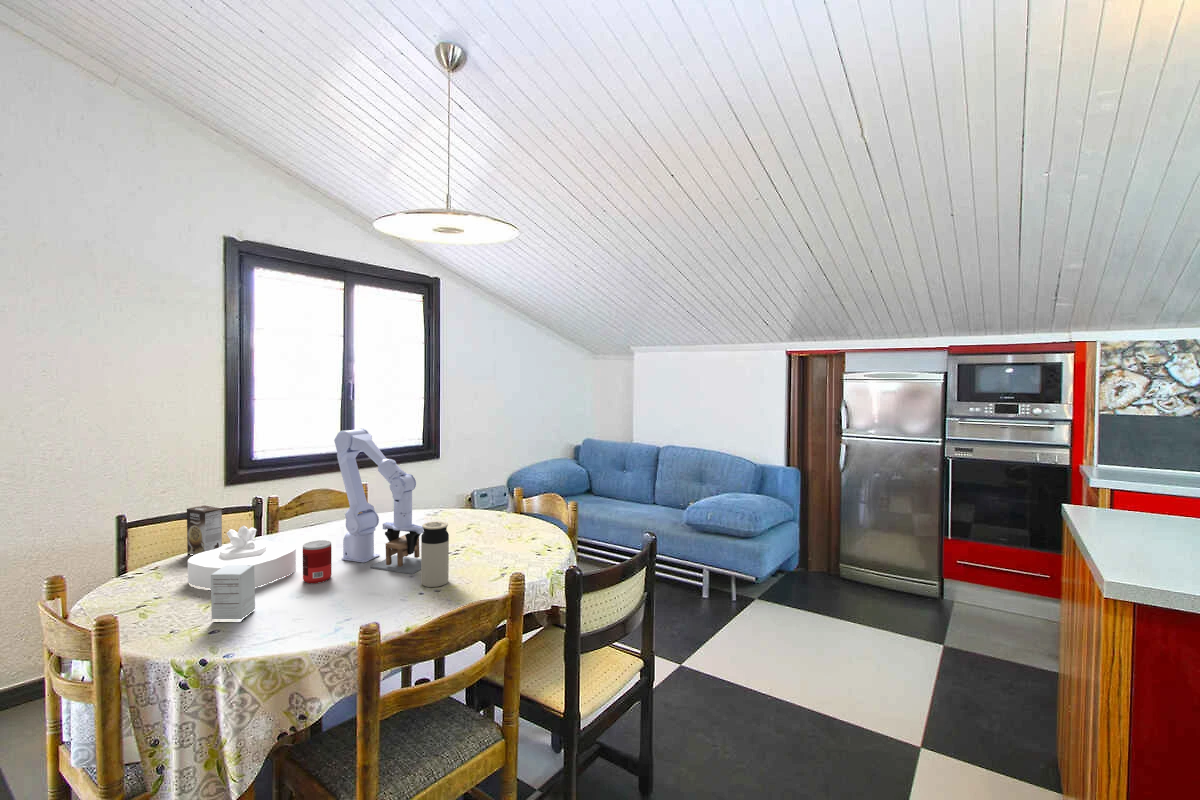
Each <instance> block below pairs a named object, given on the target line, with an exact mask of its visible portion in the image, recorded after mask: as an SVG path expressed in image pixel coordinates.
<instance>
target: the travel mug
mask: <svg viewBox="0 0 1200 800" xmlns="http://www.w3.org/2000/svg"><path fill="white" fill-rule="evenodd" d="M421 526H422V527H423V533H421V535H420V538H421V540H420V543H421V546H420V547H421V549H420V552H421V554H420V559H421V570H420V571H421V573H420V574H421V575H420V578H421V579H420V580H421V581H420V583H421V585H422V586H424V587H427V588H438V587H442V586H445V585H446V584H448V583H449V570H450V569H449V563H450V562H449V561H450V559H449V557H450V556H449V553H450V552H449V551H450V549H449V548H450V545H449V544H450V543H449V541H450V539H449V537H450V535H449V531H448V529H447V528H448V526H449V524H448V523H447V522H446V521H439V520H438V521H427V522H425V523H423V524H422V525H421Z"/></svg>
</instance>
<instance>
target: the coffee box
mask: <svg viewBox="0 0 1200 800" xmlns="http://www.w3.org/2000/svg"><path fill="white" fill-rule="evenodd" d="M222 509H223V508H221V507H217V506H216V507H215V506H210V505H205V504H204V505H200V506H193V507H189V508H188V507H187V508H186V540H187V541H186V546H187V547H186V548H187V549H186V550H187V552H186V553H187V555H188V554H193V555H196V554H198V553H202V552H206V551H210V550H214V549H217V548H219V547H222V546H223V545H222V543H223V542H222V541H223V532H222V531H223V526H222V525H223V521H222V520H223V516H222V515H223V510H222Z"/></svg>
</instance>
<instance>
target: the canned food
mask: <svg viewBox="0 0 1200 800" xmlns="http://www.w3.org/2000/svg"><path fill="white" fill-rule="evenodd" d="M331 578H332V542H331V541H330V540H327V539H326V540H325V539H322V540H312V541H309V542H306V543H304V544H303V545H302V580H303V582H304V581H305V582H307V583H306V584H311V583H312V584H319V583H318V582H321V583H324V582H327V581H329V580H330V579H331ZM328 579H329V580H328ZM326 580H327V581H326ZM323 581H324V582H323ZM305 582H304V583H305Z"/></svg>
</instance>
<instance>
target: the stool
mask: <svg viewBox="0 0 1200 800" xmlns="http://www.w3.org/2000/svg"><path fill="white" fill-rule="evenodd" d="M391 548H392V549H391ZM394 555H396V556H397V564H398V566H400V567H401V566H403V557H409V555H408V545H407V539H406V536H405V534H403V535H401V536H399V538H397V539H395V540H392V541H390V542H389V541H388V542H386V543H385V559H386V565H391V564H392V559H391V557H392V556H394ZM413 555H414V557H413V558H418V559H419V558H421V554H420V537H419V538H418V540H417V542H416V545H415V549H414V553H413Z"/></svg>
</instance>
